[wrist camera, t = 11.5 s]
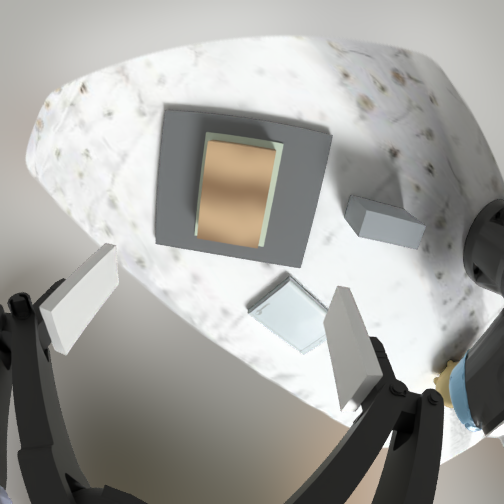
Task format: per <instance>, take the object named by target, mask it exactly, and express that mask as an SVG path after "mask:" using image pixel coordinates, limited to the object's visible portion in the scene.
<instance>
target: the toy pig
mask: <svg viewBox="0 0 504 504" xmlns="http://www.w3.org/2000/svg"><path fill="white" fill-rule="evenodd" d="M459 362H460V361H457V362H453V361H452V360H449V361H448V362H447V367H446V369H445V370H444V371H443V372H442V373H441V374H440V376H439V377H436V378H434V384H435V385H436V391H438V392H439V393H440V394H441V395H442V397H443V399H444V405H445V406H446V407H449V408H454V407H453V405H452V401H451V397H450V392H449V379H450V375H451V372H452V370H453V369H454V367H455V366H456V365H457V364H458V363H459Z"/></svg>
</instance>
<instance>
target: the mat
mask: <svg viewBox="0 0 504 504" xmlns="http://www.w3.org/2000/svg"><path fill="white" fill-rule="evenodd" d="M332 136H333V135H330V134H326V133H322V132H318V131H313V130H309V129H305V128H300V127H295V126H290V125H285V124H280V123H275V122H269V121H263V120H257V119H251V118H244V117H237V116H229V115H221V114H212V113H202V112H190V111H174V110H165V117H164V125H163V133H162V142H161V152H160V164H159V176H158V192H157V212H156V244H159V245H165V246H171V247H176V248H182V249H188V250H194V251H200V252H206V253H211V254H217V255H223V256H229V257H235V258H241V259H247V260H253V261H259V262H265V263H271V264H277V265H283V266H289V267H296V268H301V264H302V260H303V257H304V253H305V249H306V246H307V242H308V238H309V234H310V231H311V227H312V223H313V219H314V215H315V211H316V207H317V203H318V199H319V194H320V190H321V186H322V182H323V178H324V173H325V169H326V164H327V160H328V155H329V151H330V146H331V141H332ZM210 140H219V141H226V142H234V143H240V144H247V145H253V146H259V147H265V148H271V149H275V150H276V155H275V161H274V166H273V171H272V177H271V182H270V187H269V193H268V198H267V203H266V208H265V214H264V219H263V224H262V229H261V235H260V240H259V245H258V249H257V248H251V247H245V246H239V245H233V244H227V243H221V242H215V241H209V240H203V239H197V232H198V221H199V211H200V201H201V192H202V183H203V175H204V167H205V159H206V151H207V144H208V141H210Z"/></svg>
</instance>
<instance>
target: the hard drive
mask: <svg viewBox="0 0 504 504" xmlns="http://www.w3.org/2000/svg"><path fill="white" fill-rule="evenodd" d="M248 314H249V315H250V316H251V317H253V318H254V319H255V320H257V321H258V322H259V323H261V324H262V325H263V326H265V327H266V328H267V329H269V330H270V331H271V332H273V333H274V334H275V335H277V336H278V337H279V338H281V339H282V340H283V341H285V342H286V343H287V344H289V345H290V346H292V347H293V348H294V349H296V350H297V351H299V352H300V353H302V354H303V355H304V354H306V353H308V352H309V351H311V350H312V349H314V348H315V347H317V346H318V345H320V344H321V343H323V342H324V341H326V340H327V338H326V333H325V329H324V324H323V321H324V319H325V316H326V314H327V310H326V309H325V308H324V307H323V306H322V305H321V304H320V303H319V302H318V301H316V300H315V299H314V298H313V297H312V296H311V295H310V294H309V293H308V292H307V291H305V290H304V289H303V288H302V287H301V286H300V285H299V284H298V283H297V282H295V281H294V280H293V279H292V278H291V277H288V278H287V279H286V280H285V281H283V282H282V283H281V284H280V285H279V286H277V287H276V288H275V289H274V290H272V291H271V292H270V293H269V294H267V295H266V296H265V297H264V298H262V299H261V300H260V301H259V302H257V303H256V304H255V305H254V306H252V307H251V308H250V309H249V310H248Z"/></svg>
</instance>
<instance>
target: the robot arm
mask: <svg viewBox="0 0 504 504" xmlns="http://www.w3.org/2000/svg"><path fill="white" fill-rule="evenodd" d="M464 266H465V270H466V273H467V274H468V276H469V277H470V278H471V279H472V280H473V281H474V282H475V283H476V284H477V285H478V286H480V287H482V288H485V289H487V290H490V291H492V292H495V293H497V294H499V295H502V296H503V297H504V200H496V201H493V202H491V203H490V204H488V205H487V206H486V207H485V208H484V209H483V210H482V211H481V212H480V213H479V215H478V216H477V218H476V219H475V221H474V223H473V225H472V227H471V229H470V231H469V234H468V237H467V240H466V244H465V249H464ZM118 284H119V279H118V268H117V253H116V245H112V244H107V243H105V244H104V245H103V246H102V247H101V248H100V249H98V250H97V251H96V252H95V253H94V254H93V255H92V256H91V257H90V258H88V259H87V260H86V261H85V262H84V263H83V264H82V265H81V266H80V267H79V268H78V269H77V270H75V271H74V272H73V273H72V274H71V275H70V276H69V277H68V278H67V279H64V278H63V279H61V280H59V281H57V282H55V283H54V284H53V285H52V286H51V287H50V289H48V290H47V291H46V293H45V294H43V295H42V296H41V297H40V298H39V299H38V300H37V301H36V302H35V303H34V304H33V305H32V302H31V298H30V296H29V295H28V294H27V293H24V292H23V293H17V294H15V295H13V296H11V297H10V299H9V300H8V303H7V304H8V307H9V309H10V312H11V313H5V312H4V309H3V307H2V305H0V504H13V503H12V501H11V499H10V498H9V497H8V495H7V493H6V491H5V490H6V481H7V427H8V415H9V405H10V397H11V390H12V384H13V396H14V405H15V412H16V420H17V426H18V432H19V437H20V442H21V450H19V451H18V461H19V465H20V469H21V473H22V476H23V480H24V483H25V486H26V489H27V493H28V495H29V498H30V501H31V504H147V503H146V502H144V501H142V500H140V499H138V498H137V497H135V496H133V495H131V494H128V493H126V492H123V491H120V490H117V489H115V488H112V487H109V486H107V485H105V486H104V488H91V487H90V485H89V483H88V481H87V479H86V477H85V476H84V474H83V473H82V471H81V469H80V467H79V465H78V463H77V460H76V457H75V454H74V451H73V448H72V446H71V443H70V440H69V436H68V434H67V430H66V426H65V423H64V420H63V416H62V412H61V408H60V404H59V400H58V396H57V391H56V386H55V381H54V375H53V370H52V363H51V357H50V351H49V348H48V346H49V345H50V343H51V342H52V345H53V347H54V349H55V351H58V352H60V353H62V354H64V355H67V353H68V352H69V350H70V349H71V348H72V346H73V345H74V343H75V342H76V340H77V339H78V338H79V336H80V334H81V333H82V332H83V330H84V329H85V328H86V326H87V325H88V324H89V322H90V321H91V320H92V318H93V317H94V316H95V314H96V313H97V312H98V310H99V309H100V308H101V306H102V305H103V304H104V302H105V301H106V299H107V298H108V297H109V296H110V295H111V293H112V292H113V291H114V290H115V288H116V287H117V286H118ZM323 324H324V329H325V333H326V338H327V343H328V347H329V352H330V357H331V362H332V367H333V372H334V377H335V382H336V387H337V393H338V398H339V404H340V409H341V412H344V411H356V410H357V409H358V408H359V406H360V405H361V406H362V410H363V411H362V413H361V414H360V415H359V416H358V417H357V418H356V419H355V421H354V422H353V425H352V426H351V428H350V429H349V430H348V432H347V433H346V434H345V436H344V437H343V438H342V440H341V441H340V442H339V443H338V445H337V446H336V447H335V449H334V450H333V451H332V452H331V453H330V455H329V456H328V457H327V458H326V460H325V461H324V462H323V463H322V464H321V465H320V466H319V467H318V469H317V470H316V471H315V472H314V473H313V474H312V475H311V477H309V479H308V480H307V481H306V482H305V483H304V484H303V485H302V486H301V487H300V488H299V489H298V490H297V491H296V492H295V493H294V494H293V495H292V496H291V497H290V498H289V499H288V500H287V501H286V502H285V503H284V504H344V503H345V502H346V501H347V499H348V498H349V497H350V495H351V494H352V492H353V491H354V490H355V488H356V487H357V485H358V484H359V483H360V481H361V480H362V478H363V477H364V476H365V474H366V472H367V471H368V469H369V468H370V466H371V465H372V463H373V462H374V460H375V459H376V457H377V455H378V454H379V452H380V450H381V449H382V447H383V445H384V443H385V442H386V440H387V438H388V436H389V434H390V433H391V431H392V430H393V433H392V437H391V441H390V445H389V450H388V454H387V457H386V461H385V464H384V468H383V471H382V475H381V478H380V481H379V484H378V487H377V490H376V493H375V495H374V498H373V501H372V504H433V500H434V495H435V490H436V485H437V480H438V473H439V466H440V459H441V450H442V439H443V423H444V399H443V397H442V395H441V394H440V393H439V392H438V391H436V390H435V389H426V390H425V391H424V392H423V393H422V394H417V393H413V392H409V391H408V388H407V387H406V385H405V384H404V383H403V382H401V381H399V380H397V379H396V378H395V375H394V372H393V370H392V367H391V364H390V362H389V359H388V357H387V354H386V353H385V349H384V347H383V344H382V343H381V342H380V341H379V340H378V338H377V337H369V335H368V333H367V330H366V327H365V325H364V322H363V320H362V317H361V315H360V312H359V310H358V307H357V305H356V303H355V300H354V298H353V295H352V293H351V291H350V288H348V287H342V286H337V288H336V291H335V293H334V296H333V299H332V301H331V304H330V306H329V309H328V311H327V314H326V316H325V319H324V321H323ZM449 392H450V397H451V401H452V405H453V407H454V410H455V412H456V414H457V416H458V418H459V420H460V421H461V423H462V424H465V427H466V428H467V429H468V430H469V431H472V432H476V431H480V430H481V429H482V430H483V432H484V434H485V436H486V437H493V438H499V439H500V441H501V443H502V445H503V447H504V308H503V310H502V311H501V312H500V314H499V315H498V316H497V318H496V319H495V320H494V321H493V323H492V324H491V325H490V327H489V328H488V329H487V330H486V332H485V333H484V334H483V335H482V336H481V338H480V339H479V340H478V341H477V342H476V343H475V345H474V346H473V347H472V348H471V349H469V350H468V351H467V352H466V353H465V355H464V357H463V358H462V359H461V360H460V362H459V363H458V364H457V365H456V366H455V367H454V369H453V370H452V372H451V375H450V379H449Z"/></svg>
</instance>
